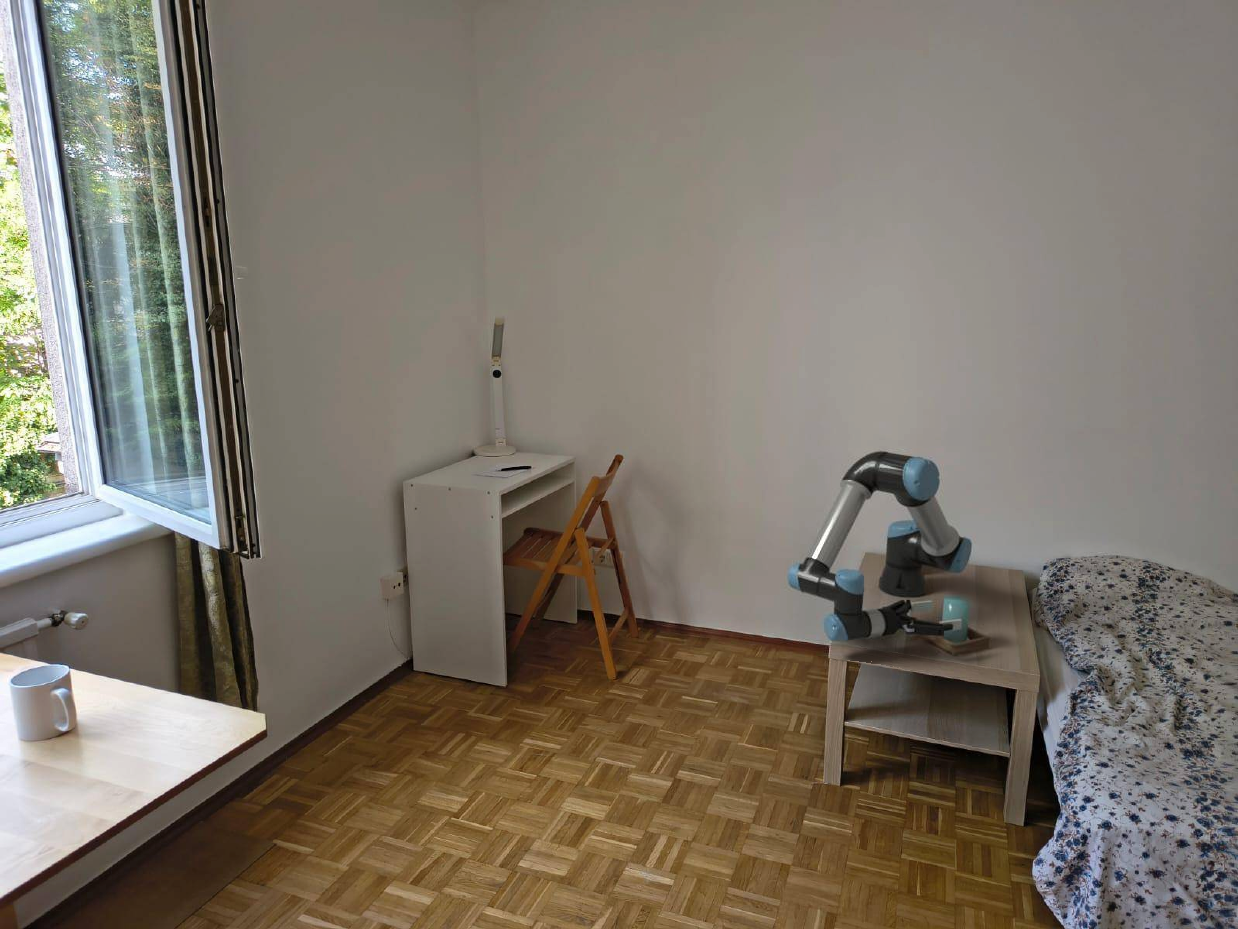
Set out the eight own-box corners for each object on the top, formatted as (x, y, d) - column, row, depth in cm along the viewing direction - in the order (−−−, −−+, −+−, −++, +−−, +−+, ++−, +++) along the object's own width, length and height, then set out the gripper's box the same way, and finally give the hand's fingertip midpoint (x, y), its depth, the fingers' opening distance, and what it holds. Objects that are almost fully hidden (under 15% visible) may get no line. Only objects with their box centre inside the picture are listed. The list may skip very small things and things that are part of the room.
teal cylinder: (935, 636, 246) (938, 598, 243) (953, 632, 248) (956, 594, 246) (953, 646, 239) (957, 607, 237) (972, 641, 242) (976, 602, 239)
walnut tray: (919, 637, 247) (920, 628, 247) (953, 629, 252) (954, 620, 252) (953, 656, 236) (954, 646, 235) (988, 647, 241) (989, 637, 240)
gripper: (855, 617, 248) (919, 609, 253) (902, 654, 225) (972, 645, 230) (856, 593, 247) (921, 586, 252) (905, 628, 223) (975, 619, 228)
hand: (945, 614), depth 241 cm, fingers open, 13 cm apart
